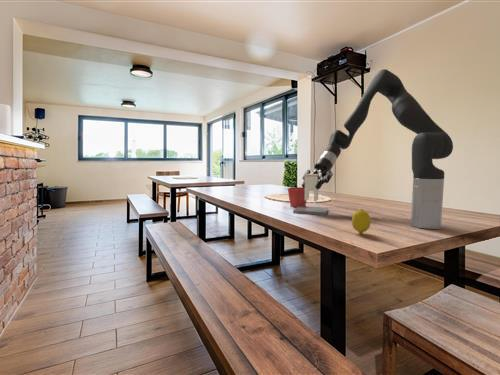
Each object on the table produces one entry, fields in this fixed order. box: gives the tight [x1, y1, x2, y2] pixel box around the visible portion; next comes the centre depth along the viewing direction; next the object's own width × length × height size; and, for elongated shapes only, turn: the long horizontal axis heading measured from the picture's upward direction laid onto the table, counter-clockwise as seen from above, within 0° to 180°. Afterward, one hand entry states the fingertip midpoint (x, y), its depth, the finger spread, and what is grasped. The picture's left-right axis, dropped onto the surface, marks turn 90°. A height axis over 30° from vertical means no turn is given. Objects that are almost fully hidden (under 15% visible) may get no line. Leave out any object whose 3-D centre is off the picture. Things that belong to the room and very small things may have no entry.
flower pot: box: [287, 186, 307, 208], centre depth 145 cm, size 11×11×10 cm
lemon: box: [351, 208, 372, 235], centre depth 88 cm, size 6×6×8 cm
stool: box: [304, 173, 320, 202], centre depth 129 cm, size 6×6×12 cm
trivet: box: [292, 206, 329, 216], centre depth 129 cm, size 14×14×1 cm
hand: (309, 187), depth 128 cm, fingers closed on stool, 7 cm apart
